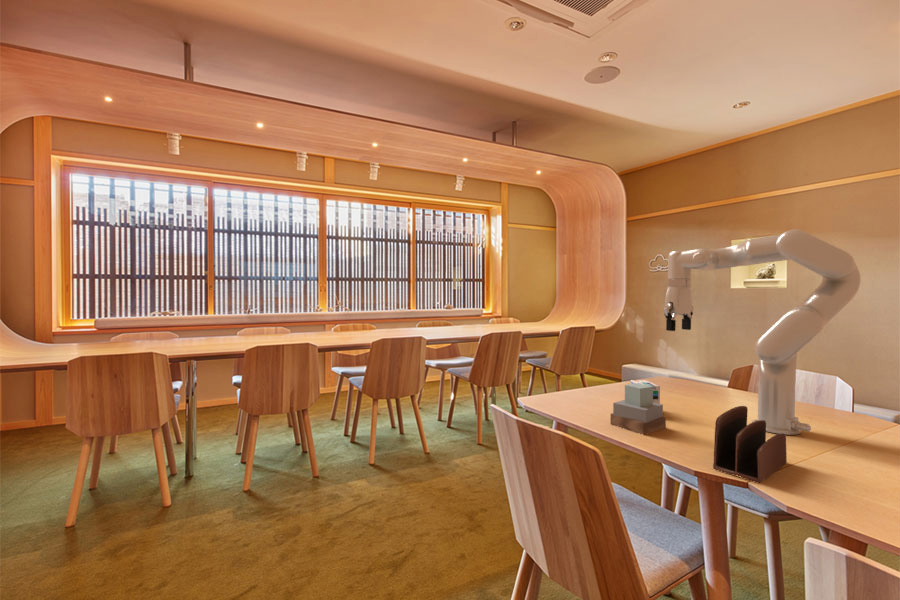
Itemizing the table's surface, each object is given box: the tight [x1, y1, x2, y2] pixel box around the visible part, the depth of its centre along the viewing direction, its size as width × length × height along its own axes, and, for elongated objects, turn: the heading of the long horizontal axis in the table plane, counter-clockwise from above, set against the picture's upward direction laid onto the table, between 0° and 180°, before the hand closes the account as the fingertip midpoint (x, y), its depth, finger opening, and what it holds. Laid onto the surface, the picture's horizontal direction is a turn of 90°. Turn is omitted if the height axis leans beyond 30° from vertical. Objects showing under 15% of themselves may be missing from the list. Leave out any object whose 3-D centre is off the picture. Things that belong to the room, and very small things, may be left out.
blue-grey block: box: [624, 383, 653, 407], centre depth 139 cm, size 6×6×6 cm
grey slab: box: [612, 399, 664, 423], centre depth 139 cm, size 11×11×4 cm
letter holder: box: [712, 405, 788, 484], centre depth 107 cm, size 10×20×14 cm, turn 127°
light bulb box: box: [630, 379, 661, 404], centre depth 156 cm, size 11×7×11 cm, turn 179°
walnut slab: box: [610, 413, 667, 436], centre depth 139 cm, size 12×12×4 cm
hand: (678, 330), depth 156 cm, fingers open, 9 cm apart
